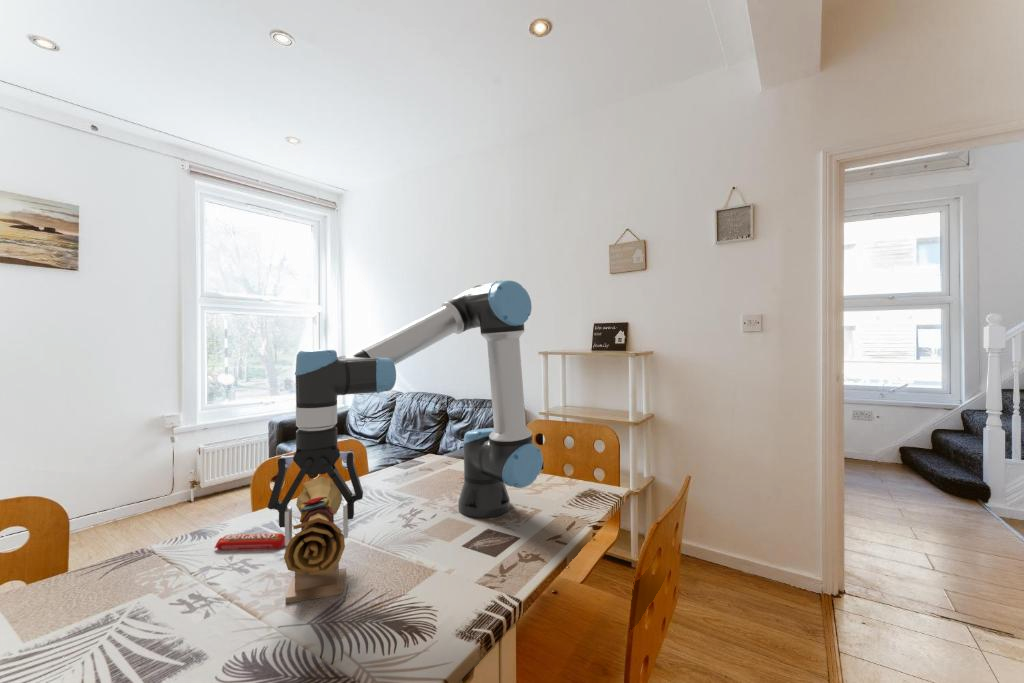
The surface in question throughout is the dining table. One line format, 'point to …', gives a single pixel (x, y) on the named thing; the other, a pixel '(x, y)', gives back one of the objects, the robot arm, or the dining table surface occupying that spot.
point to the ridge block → (316, 585)
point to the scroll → (316, 529)
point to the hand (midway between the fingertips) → (317, 538)
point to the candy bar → (251, 542)
